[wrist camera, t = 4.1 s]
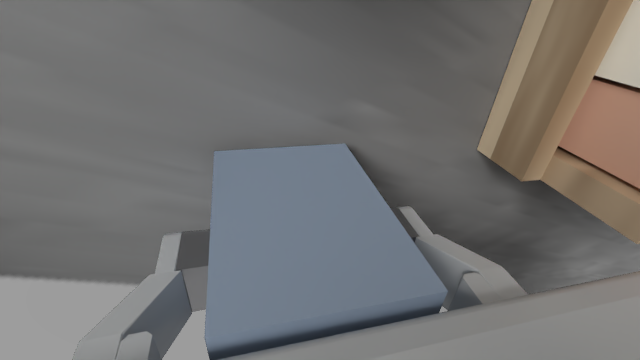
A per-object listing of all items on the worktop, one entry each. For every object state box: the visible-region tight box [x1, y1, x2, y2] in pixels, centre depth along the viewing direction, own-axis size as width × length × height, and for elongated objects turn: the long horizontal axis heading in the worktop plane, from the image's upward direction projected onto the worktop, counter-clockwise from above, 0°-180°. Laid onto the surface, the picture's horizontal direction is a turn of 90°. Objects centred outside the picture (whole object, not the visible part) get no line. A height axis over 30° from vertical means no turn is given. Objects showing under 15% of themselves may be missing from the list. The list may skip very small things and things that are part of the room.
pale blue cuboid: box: [205, 144, 448, 360], centre depth 10 cm, size 5×3×8 cm, turn 87°
